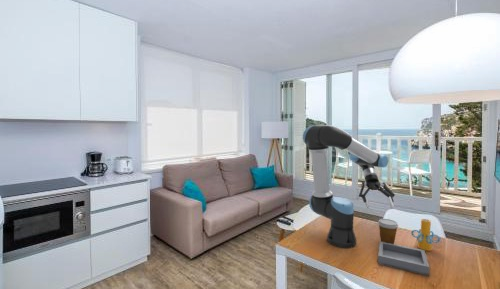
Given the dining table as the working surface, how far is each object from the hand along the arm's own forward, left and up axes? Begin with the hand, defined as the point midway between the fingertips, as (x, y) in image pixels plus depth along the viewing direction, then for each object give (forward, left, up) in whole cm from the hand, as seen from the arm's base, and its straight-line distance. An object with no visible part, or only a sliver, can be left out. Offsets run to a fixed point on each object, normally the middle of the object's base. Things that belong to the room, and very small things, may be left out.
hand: (380, 207), depth 142 cm
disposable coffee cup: (+4, -10, -16) cm, 20 cm away
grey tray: (+10, -27, -16) cm, 33 cm away
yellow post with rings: (+21, -7, -16) cm, 28 cm away
